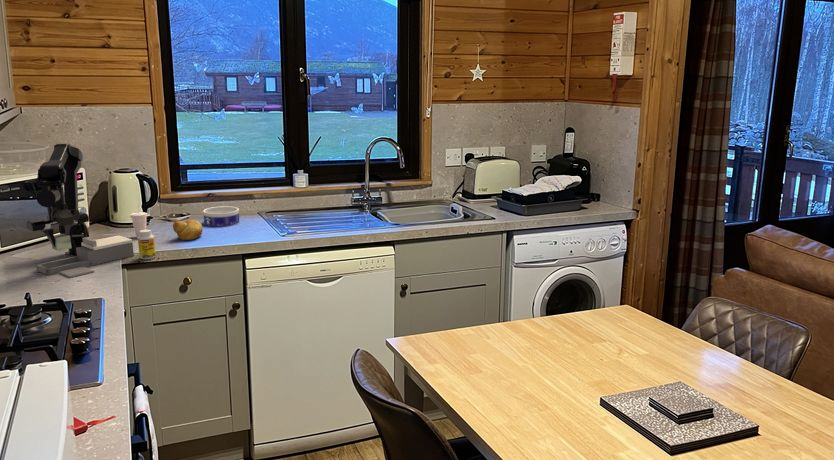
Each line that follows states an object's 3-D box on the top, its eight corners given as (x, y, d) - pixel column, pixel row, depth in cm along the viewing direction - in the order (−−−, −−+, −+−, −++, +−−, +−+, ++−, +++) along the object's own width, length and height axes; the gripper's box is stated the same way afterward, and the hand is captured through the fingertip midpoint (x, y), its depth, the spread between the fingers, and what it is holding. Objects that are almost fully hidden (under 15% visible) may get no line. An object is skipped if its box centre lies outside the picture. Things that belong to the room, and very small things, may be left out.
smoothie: (152, 235, 281) (149, 202, 278) (140, 239, 275) (137, 205, 272) (141, 234, 284) (137, 201, 280) (129, 237, 278) (125, 204, 275)
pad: (59, 273, 232) (59, 271, 232) (83, 267, 238) (83, 266, 238) (70, 278, 227) (69, 276, 227) (94, 272, 233) (93, 270, 233)
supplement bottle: (141, 260, 246) (138, 233, 244) (138, 257, 251) (135, 230, 248) (157, 258, 249) (155, 231, 247) (154, 254, 254) (151, 228, 251)
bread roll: (189, 233, 286) (187, 214, 284) (210, 234, 284) (208, 215, 282) (171, 240, 274) (169, 221, 272) (193, 242, 271) (191, 222, 269)
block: (52, 248, 236) (50, 236, 235) (65, 246, 239) (64, 233, 238) (58, 250, 233) (56, 238, 232) (71, 248, 237) (69, 235, 236)
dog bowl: (247, 221, 306) (246, 208, 305) (220, 228, 294) (219, 214, 292) (223, 217, 314) (222, 204, 313) (196, 224, 301) (195, 210, 300)
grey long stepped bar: (36, 270, 235) (34, 256, 234) (122, 251, 258) (120, 238, 257) (47, 275, 230) (45, 261, 229) (133, 255, 252) (132, 242, 251)
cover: (81, 245, 247) (80, 237, 246) (119, 237, 257) (118, 230, 256) (94, 250, 240) (93, 242, 240) (132, 242, 251) (131, 234, 250)
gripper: (36, 208, 220) (43, 255, 224) (93, 199, 234) (99, 243, 238) (22, 204, 227) (29, 249, 231) (79, 196, 241) (84, 238, 245)
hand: (61, 245), depth 236 cm, fingers closed on block, 4 cm apart
